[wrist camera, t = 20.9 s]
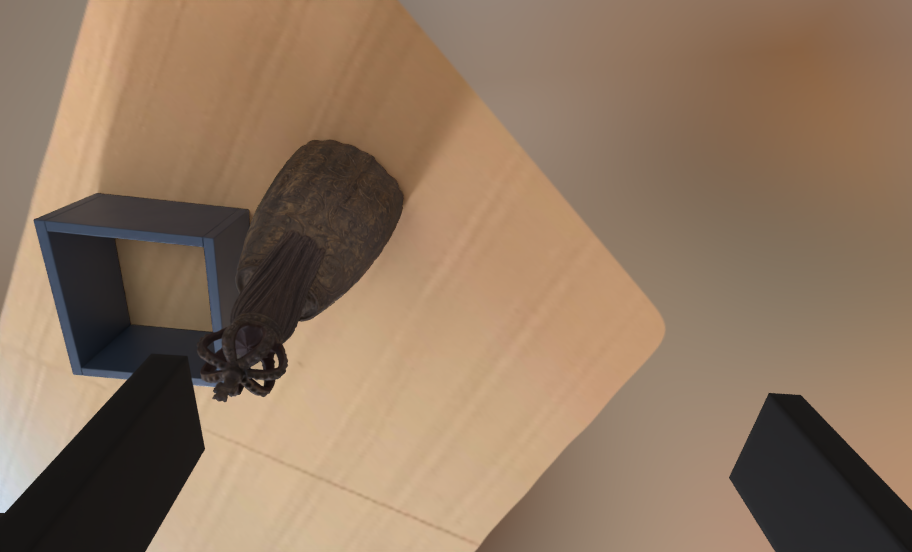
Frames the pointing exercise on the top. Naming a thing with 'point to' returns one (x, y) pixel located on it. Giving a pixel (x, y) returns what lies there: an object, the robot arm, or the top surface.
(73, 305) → the bin
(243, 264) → the statue
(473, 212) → the top surface
